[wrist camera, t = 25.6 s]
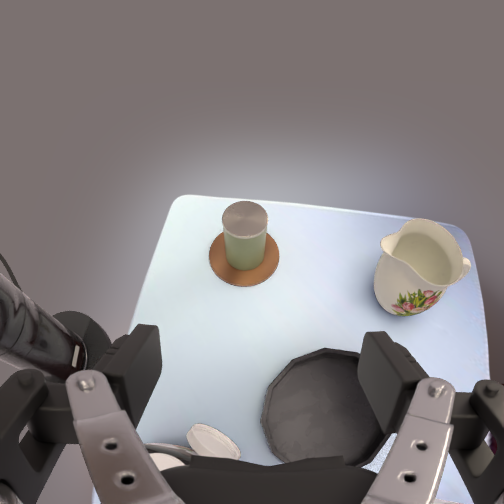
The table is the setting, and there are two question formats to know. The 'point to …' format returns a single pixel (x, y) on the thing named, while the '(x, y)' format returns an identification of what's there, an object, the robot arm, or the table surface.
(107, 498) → the robot arm
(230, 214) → the tin
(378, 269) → the pitcher
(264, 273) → the coaster
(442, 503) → the milk
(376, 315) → the table surface
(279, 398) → the pan
